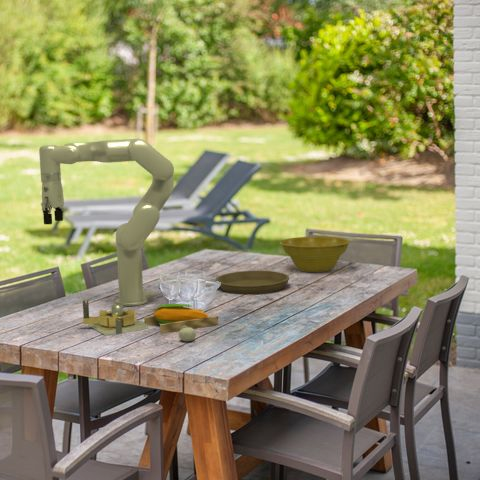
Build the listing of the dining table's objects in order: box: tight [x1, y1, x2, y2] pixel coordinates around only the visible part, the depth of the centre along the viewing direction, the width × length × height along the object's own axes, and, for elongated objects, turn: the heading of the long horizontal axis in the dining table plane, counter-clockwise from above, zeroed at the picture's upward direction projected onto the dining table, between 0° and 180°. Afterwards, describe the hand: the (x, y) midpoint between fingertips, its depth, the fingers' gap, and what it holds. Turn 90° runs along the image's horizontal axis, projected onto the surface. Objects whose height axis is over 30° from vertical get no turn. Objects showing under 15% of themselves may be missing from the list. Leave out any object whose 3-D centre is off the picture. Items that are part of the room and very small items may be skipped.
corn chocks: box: [143, 308, 219, 335], centre depth 341 cm, size 22×14×3 cm, turn 119°
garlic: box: [178, 325, 197, 343], centre depth 319 cm, size 6×5×5 cm
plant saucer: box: [214, 270, 290, 295], centre depth 404 cm, size 31×31×5 cm
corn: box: [153, 303, 209, 324], centre depth 341 cm, size 7×8×20 cm
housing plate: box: [87, 303, 149, 336], centre depth 339 cm, size 16×17×8 cm
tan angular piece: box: [82, 299, 137, 327], centre depth 340 cm, size 18×12×8 cm
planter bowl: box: [278, 236, 351, 273], centre depth 439 cm, size 32×32×13 cm
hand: (53, 222), depth 369 cm, fingers open, 9 cm apart
